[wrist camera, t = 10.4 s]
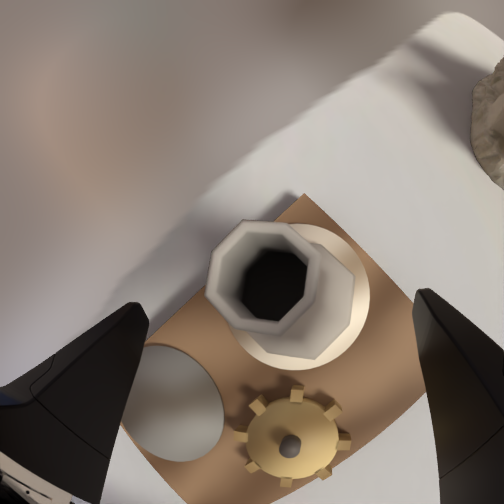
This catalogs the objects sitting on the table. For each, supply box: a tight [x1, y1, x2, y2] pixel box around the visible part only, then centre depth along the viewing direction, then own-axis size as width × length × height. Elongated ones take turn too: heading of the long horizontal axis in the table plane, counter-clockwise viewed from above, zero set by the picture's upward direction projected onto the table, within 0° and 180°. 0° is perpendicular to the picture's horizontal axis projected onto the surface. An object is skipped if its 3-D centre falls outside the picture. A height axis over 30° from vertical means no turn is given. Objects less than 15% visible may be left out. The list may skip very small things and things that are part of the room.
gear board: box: [120, 193, 426, 504], centre depth 16 cm, size 15×22×4 cm
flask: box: [204, 220, 356, 360], centre depth 13 cm, size 7×7×10 cm
